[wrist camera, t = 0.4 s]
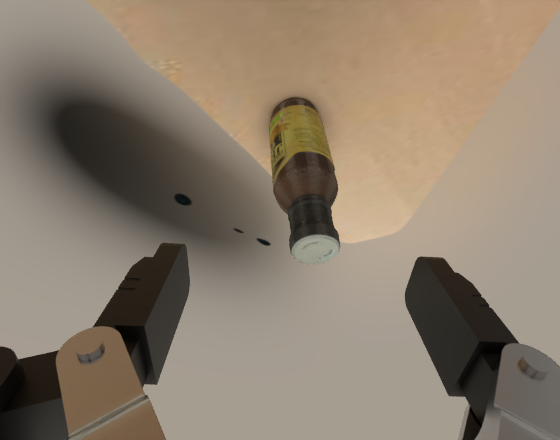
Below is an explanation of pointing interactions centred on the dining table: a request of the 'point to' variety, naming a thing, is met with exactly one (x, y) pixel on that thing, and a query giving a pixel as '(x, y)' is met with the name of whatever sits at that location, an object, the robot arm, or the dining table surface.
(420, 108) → the dining table surface
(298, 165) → the sauce bottle
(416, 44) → the dining table surface
